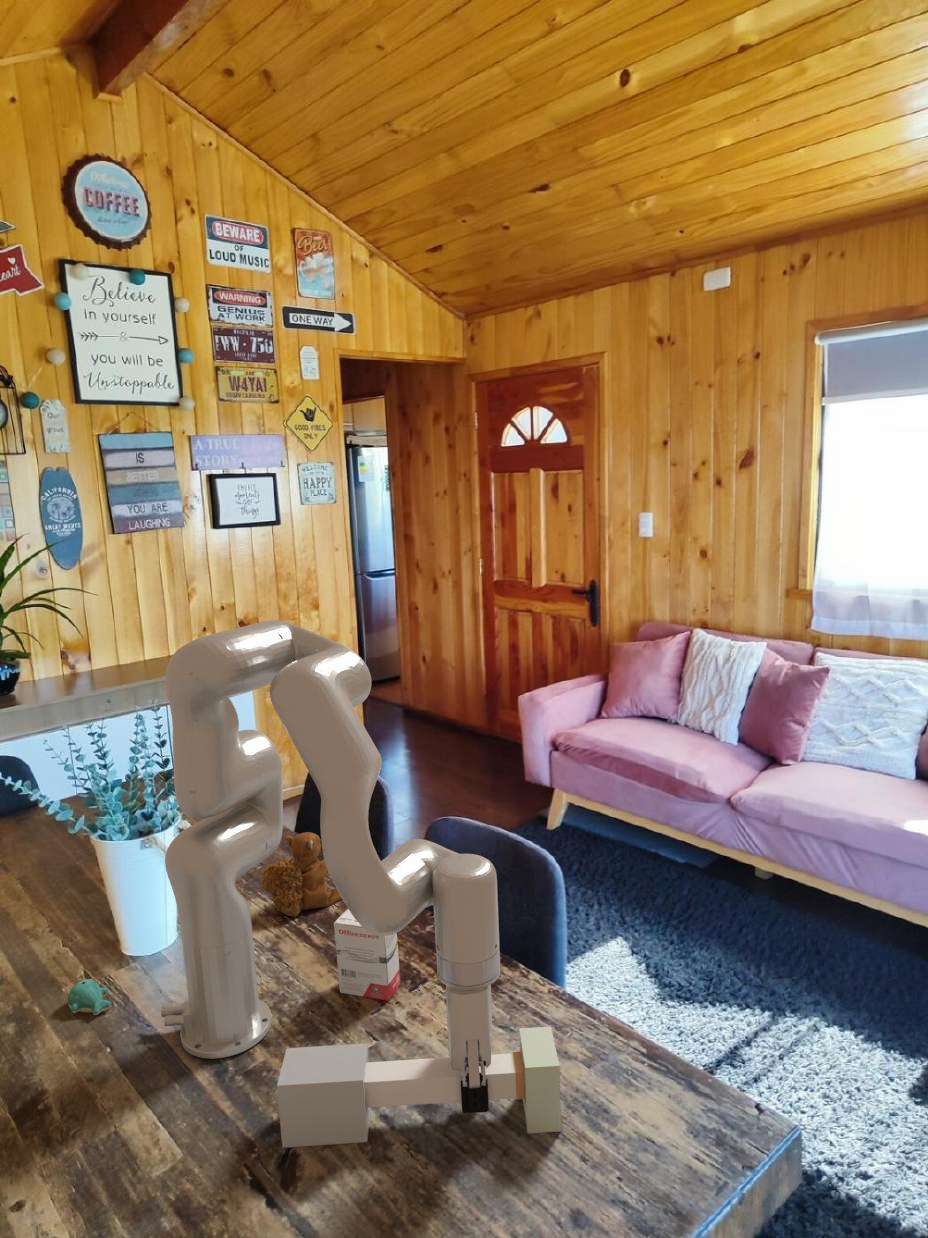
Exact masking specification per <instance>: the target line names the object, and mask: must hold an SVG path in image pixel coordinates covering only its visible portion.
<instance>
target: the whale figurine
mask: <svg viewBox="0 0 928 1238" xmlns="http://www.w3.org/2000/svg"><path fill="white" fill-rule="evenodd" d="M108 994H109V989H108V988H107V987H101V986H100V984H99V983H98V982H97V981H95V980H93V979H83V980H81V981H78V982H77V983H75V984H74V986H72V987H71V989H70V991H69V993H68V996H67V1003H68V1007H69V1009H70V1011H71V1012H72V1013H73V1014H75V1013H78V1012H79V1013H92V1014H93V1016H98V1015H99V1014H100V1013H102V1012H103V1011H106V1010H108V1009H109V1008H110V1007H111V1006H112V1003H111V1002H110V1000H106V999H103V998H104V997H106V996H107V995H108Z"/></svg>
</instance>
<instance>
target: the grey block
mask: <svg viewBox="0 0 928 1238" xmlns="http://www.w3.org/2000/svg"><path fill="white" fill-rule="evenodd" d="M366 1062H370V1061H369V1048H368V1043H367V1042H365V1043H352V1044H335V1045H332V1044H331V1045H318V1046H301V1047H299V1046H298V1047H287V1048H286V1049H285V1053H284V1057H283V1060H282V1063H281V1064H282V1065H281V1068H280V1073H279V1076H278V1080H277V1083H276V1093H277V1102H278V1113H279V1124H280V1135H281V1137H280V1138H281V1145H282V1146H281V1147H282V1148H296V1147H297V1148H298V1147H299V1148H300V1147H311V1146H325V1145H326V1146H327V1145H341V1144H343V1145H344V1144H345V1145H346V1144H354V1143H356V1144H357V1143H358V1144H359V1143H368V1139H369V1130H370V1119H371V1110H372V1107H371V1108H366V1102H365V1088H364V1078H365V1069H366Z"/></svg>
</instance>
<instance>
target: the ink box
mask: <svg viewBox="0 0 928 1238" xmlns="http://www.w3.org/2000/svg"><path fill="white" fill-rule="evenodd" d="M333 929H334V940H335V952H336V964H337V965H336V966H337V975H338V984H339V985H338V986H339V987H338V988H339V992H340V993H341V994H348V995H354V996H357V997H358V996H359V997H363V998H370V999H376V1000H381V1001H387V1002H388V1001H390V1000H391V999H392V998H393V997H394V995H395V993H396V992H397V990H398V989H399V987H400V985H401V983H402V982H401V975H400V974H401V973H400V972H401V971H400V961H399V960H400V959H399V947H398V934H397V933H398V932H397V933H395V934H392V935H389V936H379V935H376V934H373V933H371V932H369V931H367V930H366V929H365V928H364V927H362V926H361V925H360V924H359V923H358V921H357V920H356V919H355V918H354V917H353V915H352V914H351V912H350V911H349V909H348V908H347V909H346V910H344V912H342V913H341V915H340V916H339V917H338V918H337V919H336V920H335V921H334V923H333Z"/></svg>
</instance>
